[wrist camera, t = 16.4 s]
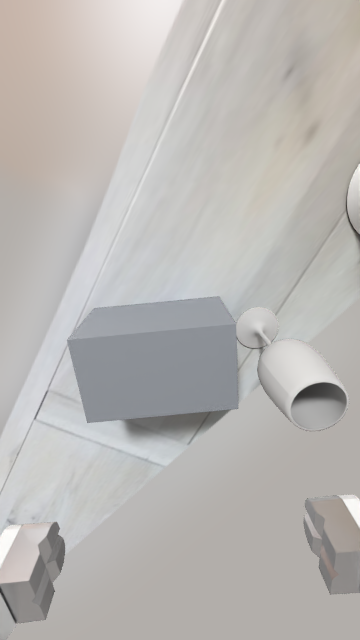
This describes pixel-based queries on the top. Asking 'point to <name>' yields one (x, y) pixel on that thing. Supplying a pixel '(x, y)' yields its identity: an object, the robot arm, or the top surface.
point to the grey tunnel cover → (156, 359)
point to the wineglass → (293, 374)
